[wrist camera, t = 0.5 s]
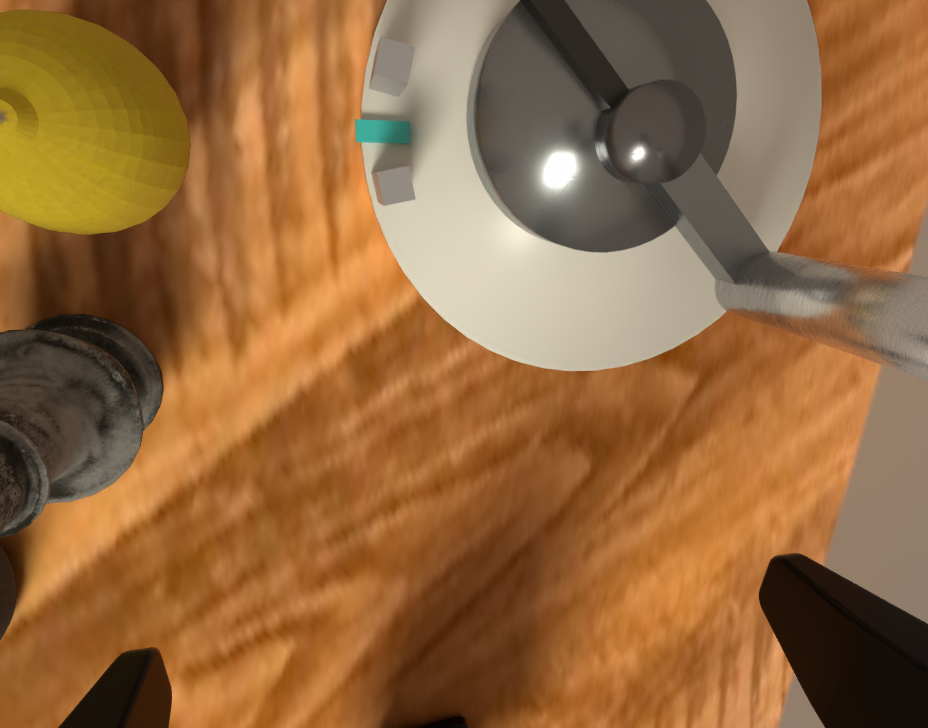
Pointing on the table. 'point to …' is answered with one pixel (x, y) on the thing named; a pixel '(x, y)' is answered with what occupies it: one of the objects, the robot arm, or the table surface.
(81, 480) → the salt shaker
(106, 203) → the lemon
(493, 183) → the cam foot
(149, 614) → the table surface
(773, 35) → the stand
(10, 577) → the smart speaker
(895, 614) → the robot arm
